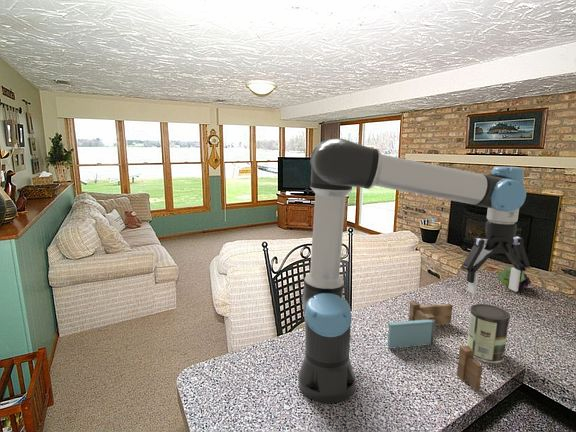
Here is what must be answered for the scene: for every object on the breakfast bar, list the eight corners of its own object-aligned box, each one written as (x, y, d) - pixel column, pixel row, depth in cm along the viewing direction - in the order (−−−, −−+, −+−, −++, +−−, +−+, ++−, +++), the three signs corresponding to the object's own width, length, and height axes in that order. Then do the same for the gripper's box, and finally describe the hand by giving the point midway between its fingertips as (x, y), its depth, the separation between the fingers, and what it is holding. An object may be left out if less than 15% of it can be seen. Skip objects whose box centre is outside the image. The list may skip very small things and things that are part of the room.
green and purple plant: (530, 296, 151) (510, 294, 145) (508, 284, 160) (489, 281, 154) (541, 276, 149) (521, 273, 142) (518, 265, 158) (499, 261, 151)
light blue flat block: (431, 341, 110) (433, 319, 108) (434, 344, 108) (436, 321, 107) (387, 345, 108) (388, 322, 106) (389, 348, 106) (390, 325, 104)
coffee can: (496, 345, 108) (501, 305, 105) (510, 365, 98) (516, 321, 96) (461, 342, 110) (466, 302, 108) (471, 361, 100) (476, 317, 98)
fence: (473, 392, 88) (476, 361, 86) (408, 325, 121) (410, 301, 119) (525, 386, 90) (529, 356, 88) (447, 322, 123) (449, 299, 121)
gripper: (470, 225, 91) (462, 299, 95) (551, 223, 94) (540, 293, 98) (453, 220, 98) (446, 288, 102) (529, 217, 102) (519, 283, 106)
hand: (492, 291), depth 100 cm, fingers open, 13 cm apart
